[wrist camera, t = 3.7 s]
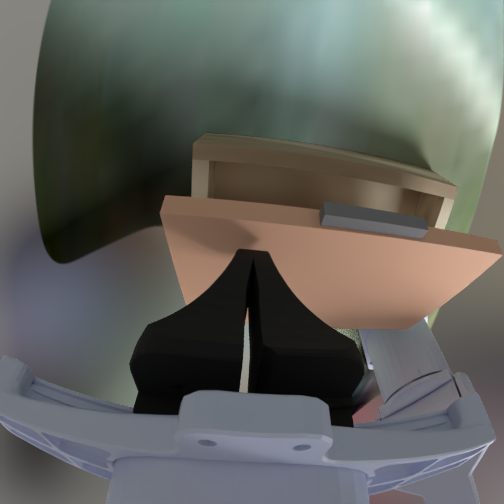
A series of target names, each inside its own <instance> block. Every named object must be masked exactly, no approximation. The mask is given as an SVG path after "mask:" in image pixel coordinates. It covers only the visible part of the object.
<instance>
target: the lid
mask: <svg viewBox="0 0 504 504" xmlns="http://www.w3.org/2000/svg"><path fill="white" fill-rule="evenodd" d="M160 216H161V220H162V224H163V228H164V232H165V235H166V239H167V242H168V246H169V250H170V253H171V256H172V260H173V264H174V267H175V270H176V274H177V276H178V280H179V284H180V287H181V290H182V293H183V296H184V299H185V302H186V306H187V305H188V304H190V303H191V302H192V301H194V300H195V299H196V298H197V297H199V296H200V295H201V294H202V293H203V292H205V291H206V290H207V289H208V288H209V287H210V286H211V285H212V284H213V283H214V282H215V281H216V280H217V278H218V277H219V276H220V275H221V274H222V273H223V271H224V270H225V269H226V267H227V266H228V265H229V263H230V262H231V260H232V259H233V257H234V255H235V253H236V251H237V250H238V249H250V250H261V251H268V252H269V253H270V255H271V258H272V260H273V262H274V264H275V266H276V267H277V269H278V271H279V273H280V274H281V276H282V277H283V279H284V281H285V282H286V283H287V285H288V286H289V288H290V289H291V290H292V292H293V293H294V294H295V295H296V297H297V298H298V299H299V300H300V301H301V302H302V303H303V304H304V305H305V306H306V307H307V308H308V309H309V310H310V311H311V312H312V313H314V314H315V315H316V316H317V317H318V318H319V319H321V320H322V321H323V322H325V323H326V324H327V325H329V326H330V327H332V328H340V329H408V328H410V327H411V326H413V325H414V324H416V323H417V322H419V321H420V320H422V319H423V318H425V317H426V316H428V315H429V314H430V313H432V312H433V311H435V310H436V309H437V308H439V307H440V306H442V305H443V304H444V303H445V302H447V301H448V300H450V299H451V298H452V297H453V296H455V295H456V294H457V293H459V292H460V291H461V290H462V289H463V288H465V287H466V286H467V285H469V284H470V283H471V282H472V281H473V280H475V279H476V278H477V277H478V276H480V275H481V274H482V273H483V272H484V271H485V270H487V269H488V268H489V267H490V266H491V265H492V264H493V263H494V262H496V261H497V260H498V259H499V258H500V257H501V256H502V255H503V254H502V251H501V249H500V246H499V243H498V241H497V240H493V239H488V238H484V237H479V236H474V235H469V234H465V233H460V232H454V231H449V230H444V229H439V228H433V227H428V226H427V223H426V220H425V218H422V217H417V216H412V215H406V214H401V213H395V212H389V211H383V210H377V209H371V208H365V207H359V206H352V205H345V204H338V203H331V202H324V201H323V204H322V206H321V209H320V210H317V209H309V208H300V207H292V206H283V205H274V204H265V203H255V202H245V201H234V200H223V199H211V198H199V197H185V196H170V195H166V196H165V198H164V201H163V204H162V208H161V211H160ZM245 323H249V321H248V309H247V315H246V320H245Z"/></svg>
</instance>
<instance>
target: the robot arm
mask: <svg viewBox="0 0 504 504" xmlns="http://www.w3.org/2000/svg"><path fill="white" fill-rule="evenodd" d="M247 309H248V321H249V340H250V363H249V379H248V393H241V392H239V388H240V379H241V371H242V362H243V347H244V326H245V320H246V315H247ZM358 331H359V334H360V338H361V341H362V345H363V349H364V353H365V357H366V361H367V365H368V368H369V369H374V372H375V375H376V379H377V382H378V386H379V389H380V393H381V396H382V400H383V404H384V405H383V406H381V407H380V408H379V413H380V418H378V419H377V420H376V421H375V422H367V423H356V424H353V419H352V414H351V408H352V407H353V400H352V394H353V393H354V391H355V390H356V388H357V386H358V385H359V383H360V382H361V380H362V378H363V376H364V364H363V361H362V357H361V355H360V352H359V350H358V348H357V345H356V343H355V341H354V340H352V339H350V338H348V337H347V336H345V335H343V334H341V333H340V332H338V331H336V330H335V329H333V328H332V327H330V326H329V325H327V324H326V323H325V322H323V321H322V320H321V319H319V318H318V317H317V316H316V315H315V314H314V313H312V312H311V311H310V310H309V309H308V308H307V307H306V306H305V305H304V304H303V303H302V302H301V301H300V300H299V299H298V298H297V297H296V295H295V294H294V293H293V292H292V290H291V289H290V288H289V286H288V285H287V283H286V282H285V281H284V279H283V277H282V276H281V274H280V273H279V271H278V269H277V267H276V266H275V264H274V262H273V260H272V258H271V255H270V253H269V252H268V251H261V250H250V249H238V250H237V251H236V253H235V255H234V257H233V259H232V260H231V262H230V263H229V265H228V266H227V267H226V269H225V270H224V271H223V273H222V274H221V275H220V276H219V277H218V278H217V280H216V281H215V282H214V283H213V284H212V285H211V286H210V287H209V288H208V289H207V290H206V291H205V292H203V293H202V294H201V295H200V296H199V297H197V298H196V299H195V300H194V301H192V302H191V303H190V304H188V305H187V306H185V307H184V308H182V309H180V310H179V311H177V312H175V313H173V314H171V315H169V316H167V317H165V318H163V319H161V320H158V321H156V322H153V323H151V324H148V325H147V327H146V328H145V330H144V332H143V333H142V335H141V337H140V338H139V340H138V342H137V344H136V347H135V349H134V352H133V355H132V358H131V360H130V363H129V364H130V370H131V373H132V376H133V379H134V381H135V384H136V387H137V389H138V395H137V398H136V402H135V405H134V408H132V407H127V406H124V405H120V404H116V403H112V402H108V401H104V400H101V399H97V398H94V397H91V396H87V395H84V394H81V393H78V392H75V391H72V390H69V389H66V388H63V387H60V386H57V385H55V384H52V383H49V382H47V381H44V380H42V379H39V378H36V377H35V376H34V374H33V372H32V371H31V369H30V368H29V367H28V366H27V365H26V364H25V363H23V362H22V361H19V360H16V359H14V358H12V357H10V356H8V355H4V356H3V358H2V360H1V361H0V423H1V424H2V425H3V426H4V427H5V428H6V429H8V430H9V431H10V432H11V433H13V434H14V435H16V436H18V437H20V438H22V439H23V440H25V441H27V442H29V443H30V444H32V445H34V446H36V447H38V448H40V449H42V450H44V451H45V452H47V453H49V454H51V455H53V456H55V457H57V458H59V459H61V460H63V461H65V462H67V463H69V464H72V465H74V466H76V467H78V468H81V469H83V470H85V471H87V472H90V473H93V474H95V475H97V476H100V477H102V478H105V479H108V480H110V481H111V482H110V486H109V490H108V495H107V499H106V503H105V504H370V502H369V495H373V494H377V493H380V492H384V491H388V490H392V489H396V490H399V491H403V492H407V493H411V494H415V495H419V496H422V497H423V499H424V502H425V504H480V500H479V496H478V492H477V489H476V485H475V482H474V479H473V475H472V472H473V470H474V469H475V467H476V466H477V464H478V462H479V461H480V459H481V458H482V456H483V455H484V453H485V451H486V449H487V448H488V446H489V445H490V444H491V443H492V442H494V441H495V439H496V437H495V434H494V431H493V429H492V426H491V423H490V421H489V418H488V416H487V413H486V411H485V408H484V406H483V403H482V401H481V399H480V397H479V394H478V393H475V391H474V388H473V386H472V384H471V382H470V380H469V378H468V376H467V374H465V373H460V372H458V373H456V374H454V375H453V374H452V373H451V371H450V369H449V367H448V365H447V363H446V361H445V359H444V356H443V354H442V352H441V350H440V348H439V346H438V344H437V342H436V340H435V338H434V336H433V334H432V332H431V330H430V328H429V326H428V320H427V316H426V317H425V318H423V319H422V320H420V321H419V322H417V323H416V324H414V325H413V326H411V327H410V328H408V329H358Z"/></svg>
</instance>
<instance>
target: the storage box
mask: <svg viewBox="0 0 504 504" xmlns="http://www.w3.org/2000/svg"><path fill="white" fill-rule="evenodd" d="M457 190H458V187H457V186H455V185H454V184H453V183H451V182H449V181H448V180H446V179H445V178H443V177H442V176H440V175H439V174H437V173H435V172H434V171H432V170H429V169H425V168H422V167H418V166H414V165H411V164H407V163H403V162H399V161H395V160H390V159H386V158H382V157H377V156H373V155H368V154H364V153H359V152H354V151H349V150H343V149H338V148H332V147H326V146H320V145H314V144H308V143H301V142H294V141H286V140H278V139H270V138H261V137H251V136H240V135H227V134H212V133H205V134H203V135H202V136H201V137H200V138H199V139H197V140H196V141H195V142H194V143H193V157H192V193H191V197H199V198H211V199H223V200H234V201H245V202H255V203H265V204H274V205H283V206H292V207H300V208H309V209H317V210H320V209H321V206H322V204H323V201H324V202H331V203H338V204H345V205H352V206H359V207H365V208H371V209H377V210H383V211H389V212H395V213H401V214H406V215H412V216H417V217H422V218H425V220H426V223H427V226H428V227H433V228H439V229H445V226H446V223H447V221H448V218H449V215H450V212H451V209H452V206H453V203H454V200H455V197H456V193H457Z"/></svg>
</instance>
